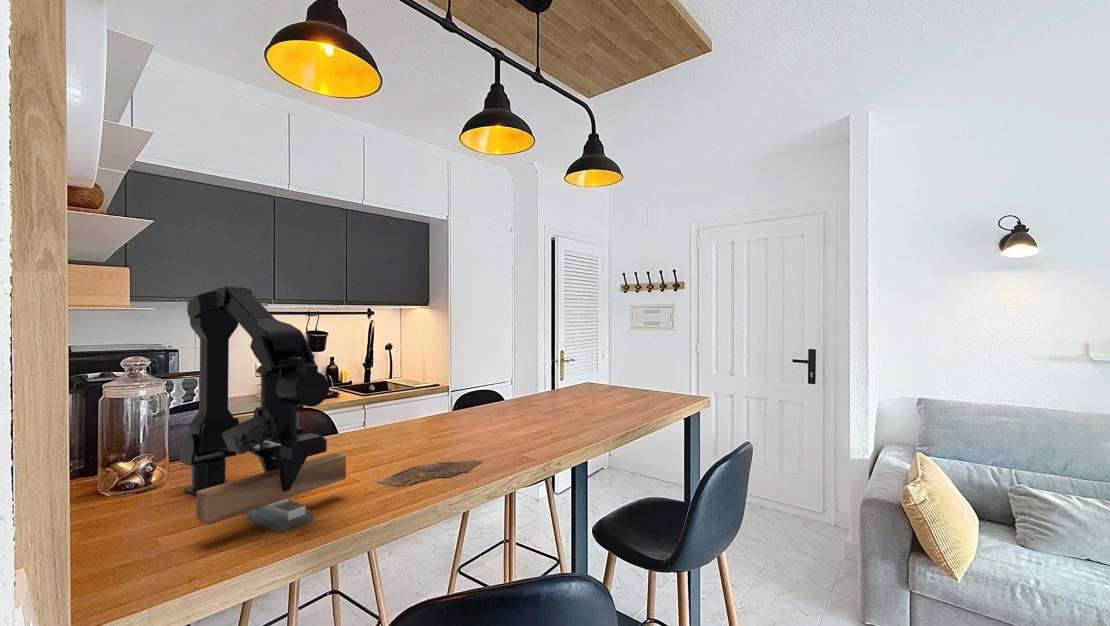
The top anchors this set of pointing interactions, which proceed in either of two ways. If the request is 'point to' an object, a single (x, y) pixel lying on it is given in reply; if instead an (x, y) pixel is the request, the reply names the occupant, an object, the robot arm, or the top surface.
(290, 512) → the grey flat stepped block
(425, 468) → the wooden fragment
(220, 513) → the walnut bar
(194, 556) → the top surface
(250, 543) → the top surface
